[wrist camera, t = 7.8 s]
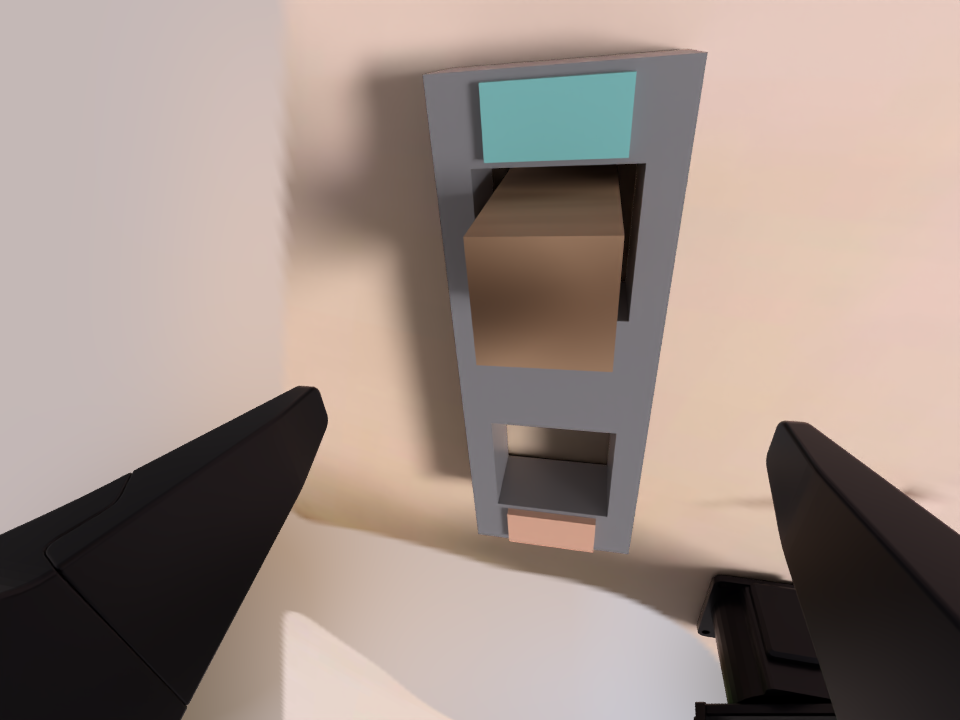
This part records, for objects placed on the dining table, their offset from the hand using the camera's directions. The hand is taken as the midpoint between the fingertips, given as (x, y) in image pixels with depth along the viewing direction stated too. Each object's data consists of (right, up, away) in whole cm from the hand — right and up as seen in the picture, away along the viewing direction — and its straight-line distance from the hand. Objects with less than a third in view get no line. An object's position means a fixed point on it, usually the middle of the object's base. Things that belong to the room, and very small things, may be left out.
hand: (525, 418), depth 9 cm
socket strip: (+3, +2, +13) cm, 14 cm away
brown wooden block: (+2, +7, +10) cm, 12 cm away
